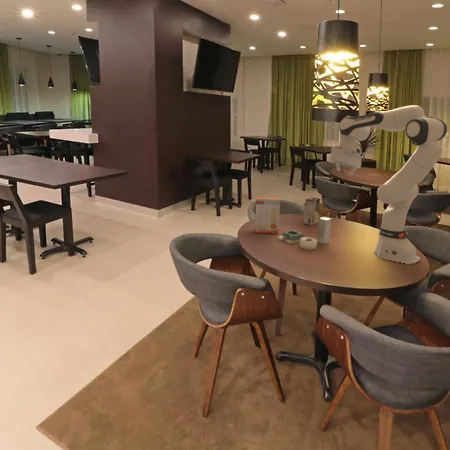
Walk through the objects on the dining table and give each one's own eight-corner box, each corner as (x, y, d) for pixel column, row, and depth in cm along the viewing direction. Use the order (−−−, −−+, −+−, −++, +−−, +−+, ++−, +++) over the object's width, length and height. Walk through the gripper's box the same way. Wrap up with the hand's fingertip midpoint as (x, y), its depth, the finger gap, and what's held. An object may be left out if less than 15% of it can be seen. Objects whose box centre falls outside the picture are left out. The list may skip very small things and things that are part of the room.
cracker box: (277, 231, 257) (280, 197, 251) (278, 234, 251) (280, 199, 245) (254, 229, 258) (256, 196, 252) (254, 232, 252) (256, 198, 246)
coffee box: (309, 220, 282) (311, 196, 278) (318, 222, 279) (320, 198, 274) (303, 223, 275) (305, 199, 271) (312, 225, 272) (314, 200, 267)
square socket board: (307, 240, 241) (308, 233, 240) (293, 244, 233) (293, 237, 232) (291, 235, 250) (292, 228, 248) (277, 238, 242) (278, 231, 241)
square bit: (328, 242, 239) (331, 218, 235) (323, 244, 236) (326, 220, 232) (322, 240, 242) (324, 217, 238) (317, 242, 239) (319, 218, 235)
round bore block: (319, 247, 230) (320, 240, 229) (309, 250, 225) (309, 243, 224) (306, 243, 237) (307, 236, 236) (296, 246, 231) (296, 238, 230)
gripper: (336, 142, 230) (334, 167, 227) (363, 152, 239) (362, 175, 237) (328, 145, 235) (326, 169, 233) (355, 154, 245) (354, 177, 242)
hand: (345, 172), depth 235 cm, fingers open, 8 cm apart
